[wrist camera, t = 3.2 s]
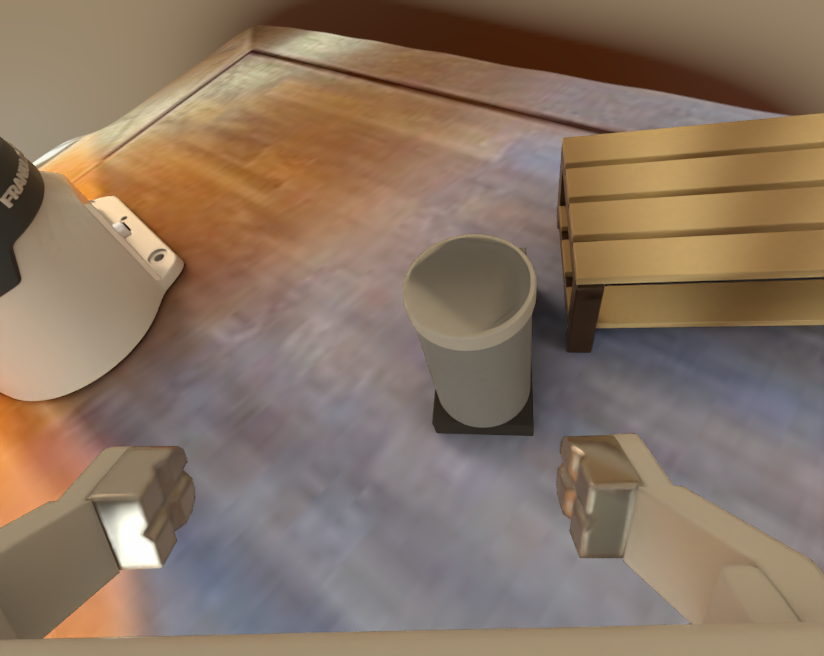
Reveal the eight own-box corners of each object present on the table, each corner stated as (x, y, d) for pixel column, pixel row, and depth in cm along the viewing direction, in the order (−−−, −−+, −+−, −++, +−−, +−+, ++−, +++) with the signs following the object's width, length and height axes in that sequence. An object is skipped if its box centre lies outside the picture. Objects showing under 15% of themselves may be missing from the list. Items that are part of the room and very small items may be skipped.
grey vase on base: (534, 442, 27) (539, 338, 19) (434, 438, 29) (394, 339, 20) (529, 284, 34) (531, 149, 25) (447, 287, 35) (421, 159, 26)
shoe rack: (567, 353, 30) (577, 282, 25) (556, 216, 37) (562, 134, 31) (914, 351, 26) (1022, 267, 21) (833, 199, 33) (898, 102, 27)
